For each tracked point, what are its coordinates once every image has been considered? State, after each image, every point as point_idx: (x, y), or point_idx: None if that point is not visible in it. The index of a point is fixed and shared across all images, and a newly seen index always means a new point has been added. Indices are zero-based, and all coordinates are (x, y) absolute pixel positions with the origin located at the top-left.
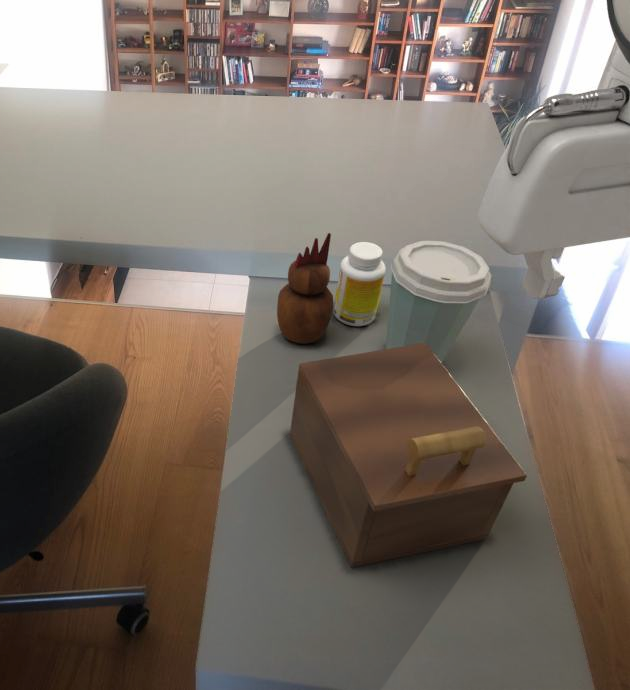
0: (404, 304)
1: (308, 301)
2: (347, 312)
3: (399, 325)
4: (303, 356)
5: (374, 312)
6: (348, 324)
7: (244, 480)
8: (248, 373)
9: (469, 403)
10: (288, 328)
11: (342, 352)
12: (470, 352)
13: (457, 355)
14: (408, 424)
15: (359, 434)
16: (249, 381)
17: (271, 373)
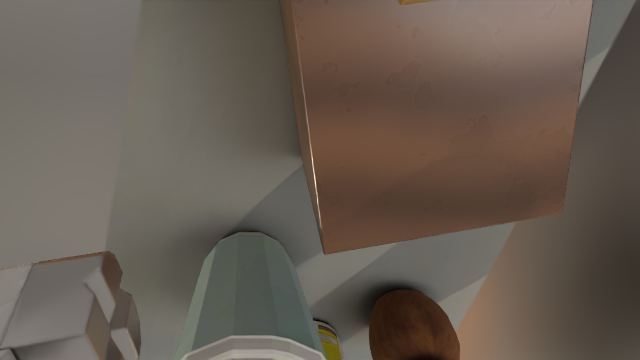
0: (316, 338)
1: (430, 350)
2: (332, 341)
3: (305, 306)
4: (410, 267)
5: None
6: (324, 323)
7: (587, 49)
8: (500, 239)
9: (311, 109)
10: (439, 310)
11: (350, 274)
12: (148, 273)
13: (172, 267)
14: (450, 64)
15: (549, 47)
16: (505, 225)
17: (468, 238)
